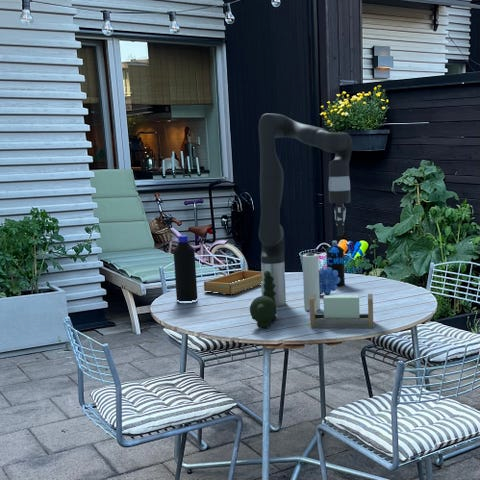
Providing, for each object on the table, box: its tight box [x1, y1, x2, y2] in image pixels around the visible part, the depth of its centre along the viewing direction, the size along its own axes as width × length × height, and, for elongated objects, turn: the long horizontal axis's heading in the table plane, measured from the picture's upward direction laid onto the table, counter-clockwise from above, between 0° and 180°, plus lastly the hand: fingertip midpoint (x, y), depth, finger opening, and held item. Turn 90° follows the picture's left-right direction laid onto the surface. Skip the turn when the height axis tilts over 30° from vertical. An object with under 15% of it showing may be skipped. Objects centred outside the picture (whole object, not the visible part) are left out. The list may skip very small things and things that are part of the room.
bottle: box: [173, 234, 198, 301], centre depth 261 cm, size 9×9×28 cm
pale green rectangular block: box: [323, 294, 361, 318], centre depth 215 cm, size 12×4×9 cm, turn 78°
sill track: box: [309, 293, 374, 329], centre depth 215 cm, size 21×8×10 cm, turn 79°
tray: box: [203, 269, 262, 296], centre depth 285 cm, size 31×15×6 cm, turn 145°
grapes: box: [319, 266, 340, 296], centre depth 261 cm, size 12×7×12 cm, turn 78°
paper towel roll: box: [302, 252, 321, 312], centre depth 238 cm, size 7×6×21 cm
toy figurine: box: [249, 271, 278, 329], centre depth 222 cm, size 9×19×25 cm
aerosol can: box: [325, 240, 346, 288], centre depth 278 cm, size 8×8×20 cm
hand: (340, 234), depth 223 cm, fingers open, 8 cm apart
